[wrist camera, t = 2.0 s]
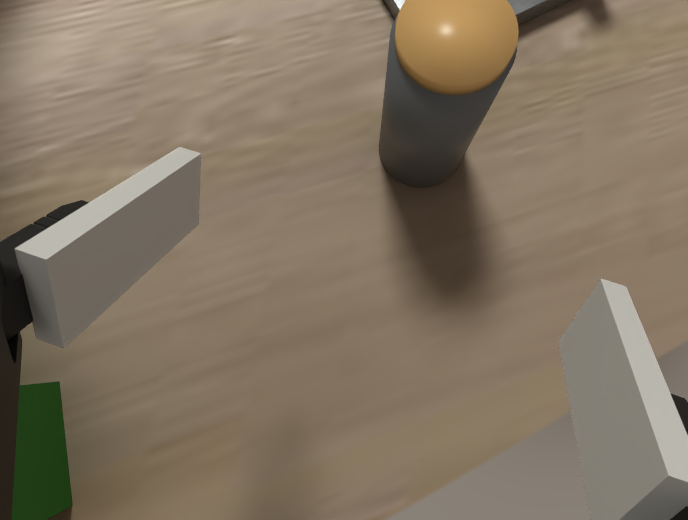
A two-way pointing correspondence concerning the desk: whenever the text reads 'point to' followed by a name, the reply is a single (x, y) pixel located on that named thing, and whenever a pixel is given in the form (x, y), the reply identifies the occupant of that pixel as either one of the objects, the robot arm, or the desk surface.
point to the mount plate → (525, 3)
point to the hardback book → (40, 454)
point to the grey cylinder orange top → (442, 83)
